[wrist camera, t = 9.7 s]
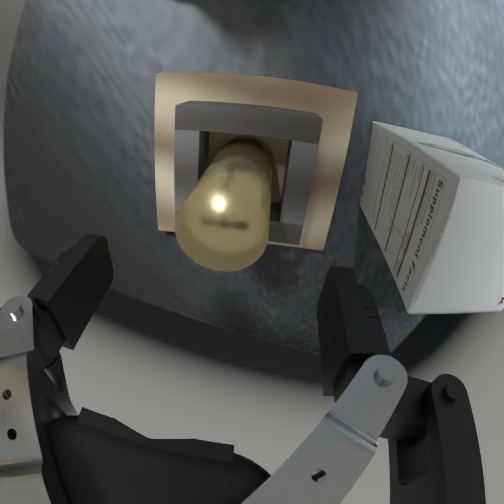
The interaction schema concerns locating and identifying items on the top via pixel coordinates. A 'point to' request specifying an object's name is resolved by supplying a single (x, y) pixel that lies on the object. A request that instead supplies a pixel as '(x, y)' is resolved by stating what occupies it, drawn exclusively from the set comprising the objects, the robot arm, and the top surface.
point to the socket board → (264, 128)
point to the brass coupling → (229, 207)
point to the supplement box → (436, 220)
